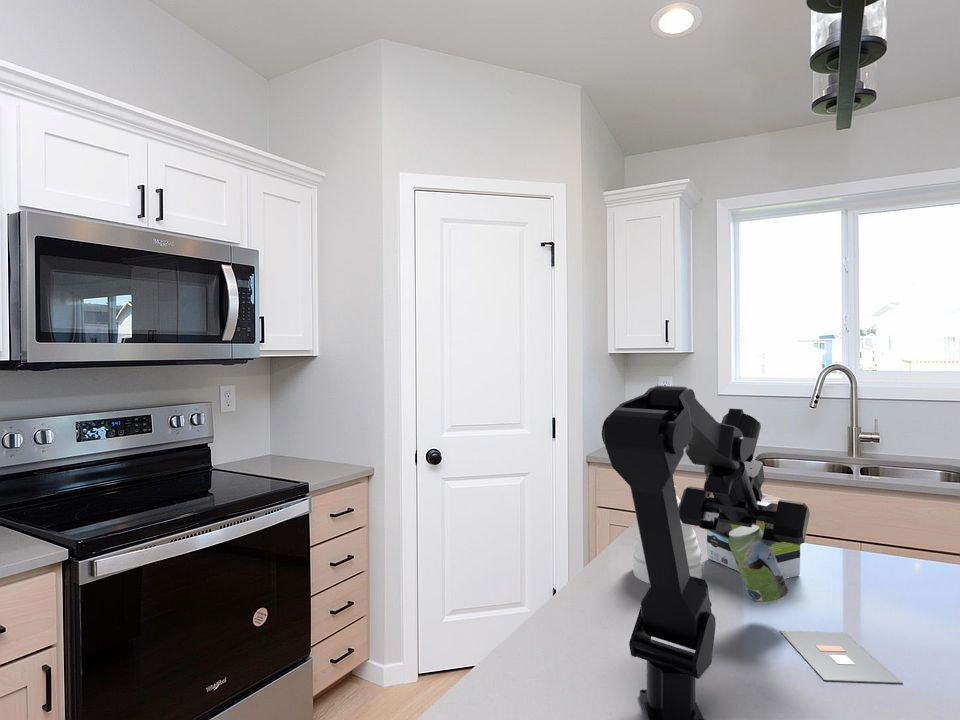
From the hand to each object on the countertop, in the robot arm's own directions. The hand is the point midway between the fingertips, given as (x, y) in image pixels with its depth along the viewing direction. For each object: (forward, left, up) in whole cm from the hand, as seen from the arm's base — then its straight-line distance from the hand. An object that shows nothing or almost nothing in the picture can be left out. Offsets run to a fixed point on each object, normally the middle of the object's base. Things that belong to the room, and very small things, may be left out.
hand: (750, 541), depth 100 cm
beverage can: (-3, -1, -9) cm, 9 cm away
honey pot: (+17, +10, -12) cm, 23 cm away
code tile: (-13, -7, -12) cm, 19 cm away
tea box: (+22, -8, -13) cm, 27 cm away
